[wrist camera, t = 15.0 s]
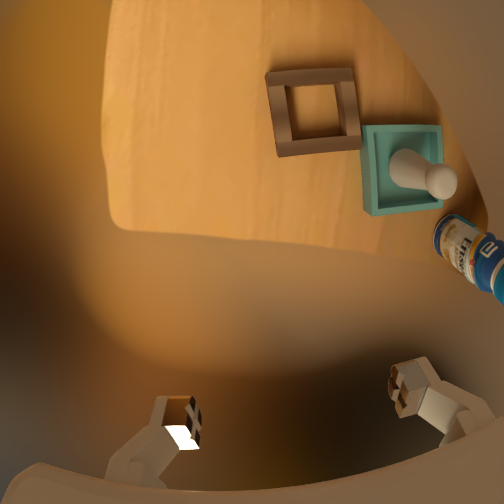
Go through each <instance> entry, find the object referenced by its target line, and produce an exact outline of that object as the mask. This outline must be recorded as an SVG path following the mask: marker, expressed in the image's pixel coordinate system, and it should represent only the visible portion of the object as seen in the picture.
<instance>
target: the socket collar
mask: <svg viewBox="0 0 504 504" xmlns="http://www.w3.org/2000/svg"><path fill="white" fill-rule="evenodd" d="M265 81H266V87H267V93H268V99H269V105H270V111H271V118H272V124H273V131H274V137H275V144H276V151H277V156H278V157H279V158H280V157H288V156H296V155H305V154H314V153H324V152H335V151H346V150H360V149H362V139H361V130H360V121H359V113H358V105H357V98H356V91H355V84H354V78H353V72H352V68H319V69H301V70H288V71H278V72H268V73H266V75H265ZM332 84H334V87H335V94H336V100H337V107H338V115H339V123H340V131H341V135H335V136H323V137H312V138H303V139H294V140H292V135H291V128H290V121H289V114H288V107H287V101H286V95H285V89H284V88H288V87H299V86H313V85H332Z"/></svg>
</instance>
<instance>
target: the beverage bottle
mask: <svg viewBox="0 0 504 504" xmlns="http://www.w3.org/2000/svg"><path fill="white" fill-rule="evenodd" d="M433 244H434V248H435V250H436V252H437V253H438V254H439V255H440V256H442V257H443V258H445V259H446V260H447V261H449V262H450V263H451V264H452V265H453V266H455V267H456V268H457V269H458V270H459V271H460V272H461V273H463V274H464V276H465V278H466V279H467V280H468V281H470V282H471V283H473V284H475V285H476V286H477V288H478V289H480V290H482V291H484V292H489V293H493V294H494V296H495V297H496V298H497V299H498V300H499V301H500V302H501V303H502V304H503V305H504V241H502V240H499V239H498V237H496V236H495V235H494V234H492V233H490V232H486V231H484V230H483V229H481V228H479V227H477V226H476V225H474V224H472V223H470V222H469V221H467V220H465V219H464V218H463V217H461V216H459V215H457V214H450V215H447V216H446V217H444V218H443V219H442V220H441V221H440V222H439V223H438V225H437V227H436V229H435V232H434V236H433Z"/></svg>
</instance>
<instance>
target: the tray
mask: <svg viewBox="0 0 504 504" xmlns="http://www.w3.org/2000/svg"><path fill="white" fill-rule="evenodd" d="M360 130H361V139H362V149H360V158H361V171H362V186H363V207H364V211H366V212H367V213H368V214H369V215H371V216H372V217H373V216H380V215H388V214H396V213H404V212H412V211H420V210H428V209H437V208H443V199H438V198H435V197H433V196H432V195H431V194H430V193H429V192H428V190H422V189H414V188H405V187H400V186H398V185H397V184H396V183H395V182H393V181H392V179H391V177H390V175H389V173H388V164H389V158H390V157H391V156H392V155H393V154H394V153H395V152H396V151H398V150H401V149H403V148H406V149H411V150H413V151H415V152H416V153H418V154H419V155H421V156H422V157H424V158H425V159H427V160H428V161H429V162H431V163H432V164H434V165H435V164H437V163H442V164H443V142H442V127H441V125H430V124H379V125H360Z"/></svg>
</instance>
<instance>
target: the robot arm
mask: <svg viewBox="0 0 504 504" xmlns="http://www.w3.org/2000/svg"><path fill="white" fill-rule="evenodd" d="M391 374H392V377H390V378H389V382H388V390H389V394H390V397H391V399H392V400H394V401H396V405H395V408H396V411H397V413H398V415H399V417H400V418H403V417H406V416H410V415H413V414H416V413H418V415H419V416H421V417H422V418H424V419H425V420H426V421H428V422H429V423H430V424H432V425H434V426H435V427H436V428H437V429H439V430H440V431H442V432H443V433H444V434H446V435H445V436H444V438H443V440H442V441H441V443H440V445H439V447H440V448H438V449H435V450H433V451H430V452H428V453H425V454H422V455H420V456H417V457H414V458H411V459H409V460H406V461H403V462H400V463H397V464H393V465H390V466H387V467H384V468H380V469H377V470H373V471H370V472H366V473H362V474H358V475H354V476H349V477H345V478H340V479H336V480H331V481H325V482H320V483H314V484H309V485H302V486H294V487H286V488H276V489H266V490H252V491H186V490H171V489H167V487H166V486H165V485H164V484H163V483H162V482H161V481H160V480H159V479H158V476H159V475H160V474H161V473H162V472H163V470H164V469H165V468H166V467H167V466H168V464H169V463H170V462H171V461H172V459H173V458H174V457H175V456H176V454H177V453H178V452H179V451H180V449H199V445H200V434H199V432H198V431H199V430H200V429H201V428H202V415H201V411H200V409H199V407H197V406H196V400H195V398H194V397H193V396H158V397H157V399H156V402H155V405H154V409H153V413H152V416H151V420H150V424H149V426H145V427H144V428H143V429H142V430H141V431H140V432H138V433H137V434H136V435H135V436H134V437H133V438H132V439H131V440H130V441H128V442H127V443H126V444H125V445H124V446H123V447H122V448H120V449H119V450H118V451H117V452H116V453H115V454H114V455H112V456H111V459H110V462H109V465H108V468H107V472H106V475H105V479H104V480H103V479H98V478H94V477H89V476H85V475H81V474H77V473H73V472H70V471H67V470H63V469H60V468H56V467H53V466H50V465H47V464H43V463H36V464H34V465H32V466H31V467H29V468H27V469H26V470H24V471H23V472H21V473H20V474H18V475H17V476H16V477H15V478H14V479H13V480H12V482H11V483H10V485H9V487H8V489H7V491H6V493H5V495H4V498H3V500H2V502H1V504H504V416H502V417H501V418H498V419H497V420H496V419H495V417H494V415H493V414H492V412H491V411H490V409H489V407H488V406H487V404H486V402H485V401H484V400H483V399H481V398H479V397H476V396H474V395H472V394H470V393H468V392H466V391H464V390H462V389H460V388H458V387H456V386H454V385H452V384H450V383H448V382H446V381H442V382H441V380H440V378H439V377H438V375H437V374H436V372H435V371H434V369H433V367H432V366H431V364H430V363H429V361H428V360H427V358H426V357H421V358H417V359H414V360H410V361H407V362H403V363H400V364H397V365H393V367H392V368H391Z"/></svg>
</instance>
